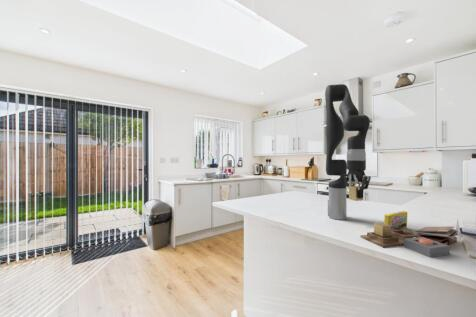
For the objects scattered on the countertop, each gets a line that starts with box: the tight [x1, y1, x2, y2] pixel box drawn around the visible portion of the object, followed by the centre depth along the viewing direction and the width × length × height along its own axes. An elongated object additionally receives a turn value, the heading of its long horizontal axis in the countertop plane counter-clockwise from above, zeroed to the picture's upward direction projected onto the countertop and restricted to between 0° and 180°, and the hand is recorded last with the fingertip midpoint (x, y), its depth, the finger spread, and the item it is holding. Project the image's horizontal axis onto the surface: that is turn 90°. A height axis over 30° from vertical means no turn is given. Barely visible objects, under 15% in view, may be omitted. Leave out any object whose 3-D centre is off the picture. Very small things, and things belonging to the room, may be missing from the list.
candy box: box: [383, 210, 408, 230], centre depth 99 cm, size 16×2×8 cm, turn 117°
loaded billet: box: [373, 222, 391, 238], centre depth 87 cm, size 4×4×6 cm
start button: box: [419, 237, 434, 246], centre depth 77 cm, size 4×4×4 cm
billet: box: [348, 185, 364, 202], centre depth 96 cm, size 4×4×6 cm
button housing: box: [403, 236, 451, 258], centre depth 77 cm, size 9×9×3 cm
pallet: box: [360, 229, 421, 248], centre depth 88 cm, size 11×22×2 cm, turn 103°
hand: (356, 197), depth 96 cm, fingers closed on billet, 4 cm apart
